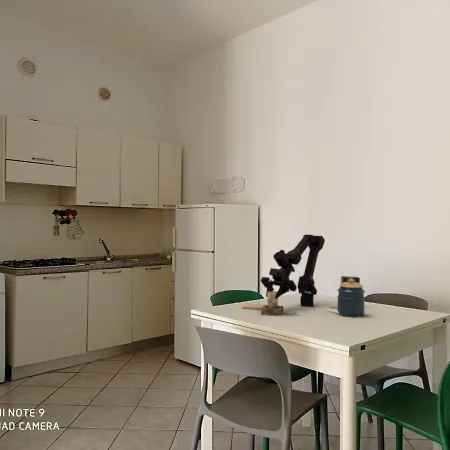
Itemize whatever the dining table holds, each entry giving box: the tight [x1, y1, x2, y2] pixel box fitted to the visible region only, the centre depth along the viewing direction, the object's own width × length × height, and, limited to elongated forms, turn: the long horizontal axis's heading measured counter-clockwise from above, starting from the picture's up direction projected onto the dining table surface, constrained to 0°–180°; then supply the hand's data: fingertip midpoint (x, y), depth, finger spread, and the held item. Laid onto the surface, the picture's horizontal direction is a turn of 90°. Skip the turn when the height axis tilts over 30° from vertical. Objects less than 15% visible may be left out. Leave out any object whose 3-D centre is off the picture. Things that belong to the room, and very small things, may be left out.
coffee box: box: [340, 275, 361, 284], centre depth 236 cm, size 9×6×16 cm
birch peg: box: [266, 290, 279, 309], centre depth 214 cm, size 5×5×9 cm
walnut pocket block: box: [260, 304, 284, 317], centre depth 214 cm, size 10×10×3 cm
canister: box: [336, 279, 366, 318], centre depth 215 cm, size 13×13×18 cm
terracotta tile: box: [241, 303, 267, 311], centre depth 229 cm, size 11×11×1 cm
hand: (271, 297), depth 213 cm, fingers closed on birch peg, 5 cm apart
